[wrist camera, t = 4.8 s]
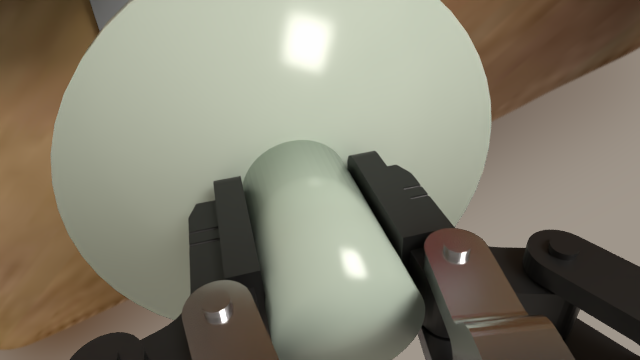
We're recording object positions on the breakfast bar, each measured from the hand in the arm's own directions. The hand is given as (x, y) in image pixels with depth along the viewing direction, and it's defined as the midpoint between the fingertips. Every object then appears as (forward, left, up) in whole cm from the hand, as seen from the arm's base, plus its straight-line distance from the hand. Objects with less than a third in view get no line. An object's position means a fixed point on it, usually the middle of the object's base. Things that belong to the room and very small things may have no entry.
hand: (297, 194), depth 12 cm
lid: (0, 0, -1) cm, 1 cm away
